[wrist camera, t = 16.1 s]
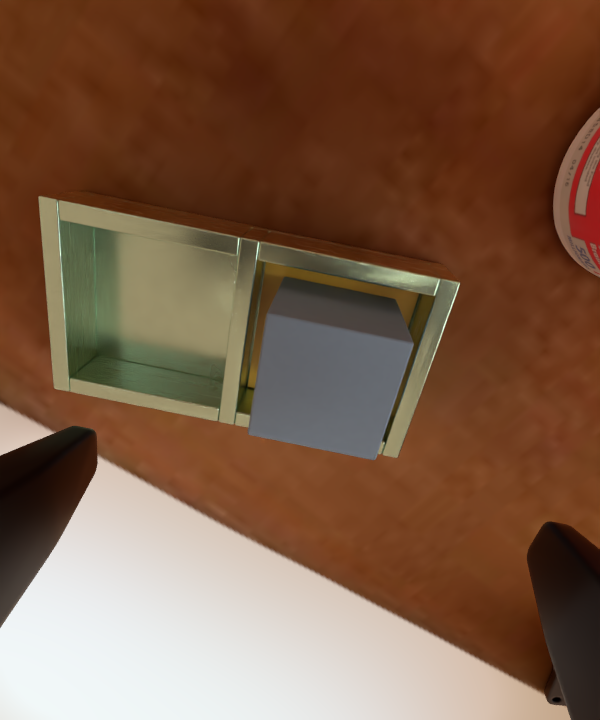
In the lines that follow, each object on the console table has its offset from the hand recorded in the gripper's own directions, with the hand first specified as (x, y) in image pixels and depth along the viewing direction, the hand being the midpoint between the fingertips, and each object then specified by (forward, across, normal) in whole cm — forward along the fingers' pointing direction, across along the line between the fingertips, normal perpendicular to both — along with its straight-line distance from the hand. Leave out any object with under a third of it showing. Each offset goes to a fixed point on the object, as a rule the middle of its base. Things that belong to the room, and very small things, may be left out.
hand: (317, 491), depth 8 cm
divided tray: (+9, +3, 0) cm, 9 cm away
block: (+8, 0, 0) cm, 8 cm away
